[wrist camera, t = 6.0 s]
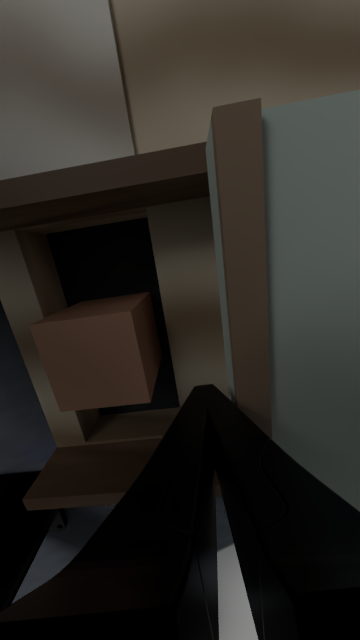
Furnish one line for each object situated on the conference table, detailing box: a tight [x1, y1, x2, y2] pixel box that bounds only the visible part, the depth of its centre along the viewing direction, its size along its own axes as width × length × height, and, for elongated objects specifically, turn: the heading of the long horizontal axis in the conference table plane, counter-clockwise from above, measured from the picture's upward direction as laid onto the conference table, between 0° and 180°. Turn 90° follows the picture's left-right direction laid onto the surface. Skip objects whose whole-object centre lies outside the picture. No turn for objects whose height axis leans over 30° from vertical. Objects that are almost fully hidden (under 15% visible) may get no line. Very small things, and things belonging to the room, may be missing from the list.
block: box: [29, 292, 162, 412], centre depth 12 cm, size 4×4×5 cm
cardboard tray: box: [0, 0, 360, 511], centre depth 10 cm, size 23×18×6 cm
